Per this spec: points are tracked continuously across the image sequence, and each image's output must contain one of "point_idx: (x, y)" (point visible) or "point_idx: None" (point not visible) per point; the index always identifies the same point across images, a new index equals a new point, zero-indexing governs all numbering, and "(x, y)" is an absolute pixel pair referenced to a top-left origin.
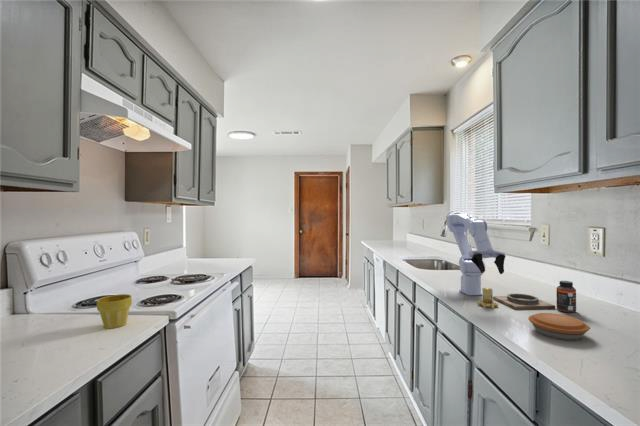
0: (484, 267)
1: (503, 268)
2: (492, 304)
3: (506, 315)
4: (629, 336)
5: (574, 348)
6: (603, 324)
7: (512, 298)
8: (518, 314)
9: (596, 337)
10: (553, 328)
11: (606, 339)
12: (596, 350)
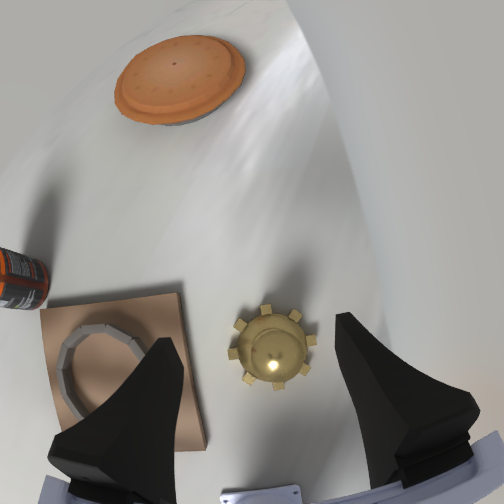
0: (345, 328)
1: (148, 352)
2: (262, 317)
3: (249, 213)
4: (57, 110)
5: None
6: (36, 173)
7: None
8: (197, 230)
9: None
10: (220, 39)
11: (110, 82)
12: None
